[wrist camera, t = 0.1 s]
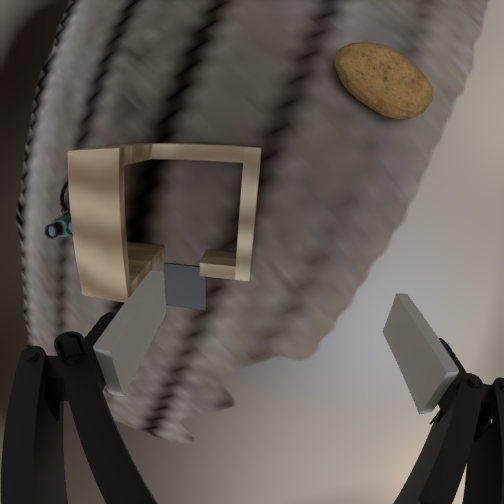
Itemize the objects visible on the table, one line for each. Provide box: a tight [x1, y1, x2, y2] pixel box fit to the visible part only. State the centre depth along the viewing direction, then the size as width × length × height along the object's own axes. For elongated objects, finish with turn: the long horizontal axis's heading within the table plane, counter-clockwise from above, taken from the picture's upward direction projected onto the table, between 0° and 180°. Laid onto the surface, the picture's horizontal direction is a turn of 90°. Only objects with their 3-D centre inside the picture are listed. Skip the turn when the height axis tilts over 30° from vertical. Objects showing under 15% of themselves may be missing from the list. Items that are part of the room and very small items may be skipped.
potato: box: [335, 43, 433, 119], centre depth 30 cm, size 10×14×8 cm
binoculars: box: [45, 180, 73, 239], centre depth 38 cm, size 9×11×10 cm
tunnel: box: [68, 143, 262, 302], centre depth 36 cm, size 18×21×14 cm
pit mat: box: [164, 263, 206, 310], centre depth 48 cm, size 8×7×1 cm
